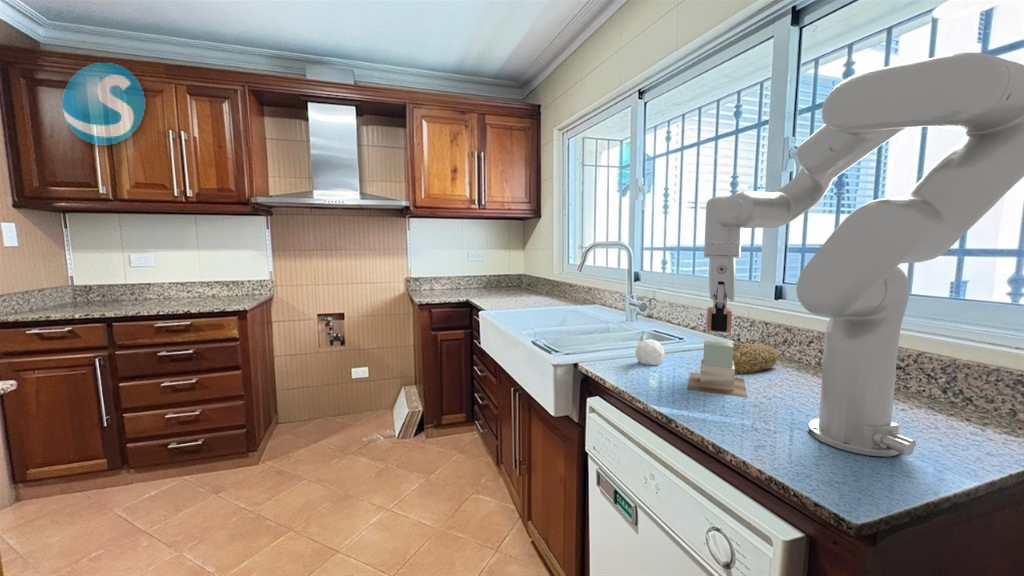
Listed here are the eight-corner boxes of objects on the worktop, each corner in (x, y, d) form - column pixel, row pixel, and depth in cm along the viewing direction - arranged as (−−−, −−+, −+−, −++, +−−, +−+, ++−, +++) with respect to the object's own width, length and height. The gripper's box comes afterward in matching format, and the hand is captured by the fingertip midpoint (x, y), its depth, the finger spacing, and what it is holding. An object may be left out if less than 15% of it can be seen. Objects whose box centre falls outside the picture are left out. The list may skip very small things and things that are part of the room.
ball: (651, 377, 114) (649, 359, 109) (631, 361, 120) (628, 343, 115) (671, 362, 116) (669, 344, 111) (650, 347, 122) (647, 329, 117)
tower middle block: (732, 368, 93) (733, 346, 92) (703, 365, 95) (704, 344, 95) (731, 361, 98) (732, 341, 98) (703, 358, 101) (704, 338, 100)
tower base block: (733, 390, 93) (734, 369, 92) (700, 386, 96) (700, 365, 95) (732, 381, 99) (733, 361, 98) (701, 377, 102) (701, 358, 101)
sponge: (744, 385, 103) (802, 361, 109) (736, 355, 103) (793, 332, 109) (706, 378, 116) (759, 357, 121) (698, 351, 116) (752, 332, 122)
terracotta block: (730, 333, 93) (731, 311, 92) (706, 331, 95) (707, 309, 94) (730, 328, 97) (731, 308, 97) (707, 327, 99) (707, 307, 99)
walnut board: (747, 401, 88) (747, 397, 88) (687, 393, 94) (687, 389, 94) (743, 382, 101) (743, 378, 101) (690, 376, 106) (690, 372, 106)
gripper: (742, 252, 85) (738, 337, 87) (738, 250, 100) (735, 323, 102) (703, 252, 88) (699, 334, 90) (705, 250, 103) (702, 321, 105)
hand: (718, 327), depth 96 cm, fingers closed on terracotta block, 5 cm apart
